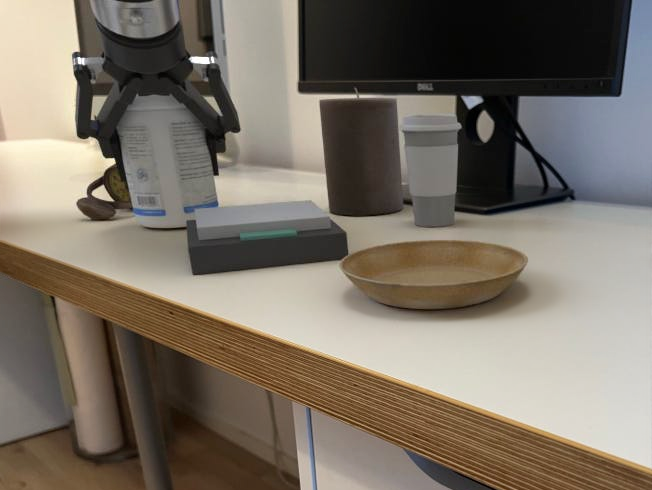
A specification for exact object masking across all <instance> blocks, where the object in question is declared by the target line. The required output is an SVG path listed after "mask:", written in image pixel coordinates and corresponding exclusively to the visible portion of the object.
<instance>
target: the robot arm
mask: <svg viewBox="0 0 652 490" xmlns="http://www.w3.org/2000/svg"><path fill="white" fill-rule="evenodd" d="M89 2H90V7H91V10H92V14H93V15H94V21H95V26H96V28H97V32H98V35H99V39H100V43H101V46H102V52H101V54H100V56H95V57H94V56H93V57H86V55H85V53H83V52H81V51H74V52H72V54H71V59H72V71H73V76H74V79H75V81H76V95H75V110H74V111H75V112H74V120H75V133H76V137H77V138H78V139H80V140H87V139H89V138H92V139H95V140H97V142H98V145H99V149H100V152H101V154H102V157H103V158H104V159H106V160H107V159H114V162H115V163H116V166H117V169H118V172H119V175H120V179H121V181H127V178H126V173H125V168H124V164H123V159H122V154H121V150H120V145H119V140H118V136H117V131H116V126H117V125H118V123H119V121H120V119H121V117H122V116H123V114H124V112H125V110H126V108H127V107H128V105H131V104H132V102H133V100H134V99H135V97H136V95H137V94H138V96H150V95H160V96H170V94H171V95H172V96H173V97H174V98H175V99H176V100H177V101H178V102H179V103H180V104H181V103H183V104H184V105H185V106H186V107H187V108H188V109H189V110H190V111H191V112H192V113H193V114H194V115H195V116H196V117H197V118H198V119H199V120H200V122H201V123H202V124H203V125H204V126H205V127H206V133H207V139H208V145H209V151H210V157H211V162H212V169H213V175H214V177H219V176H220V170H219V163H218V154H225V153H226V151H227V145H226V141H227V138H226V134H227V133H229V132H231V133H232V134H238V133H240V132H241V131H242V129H241V123H240V119H239V113H238V111H237V109H236V107H235V104H234V101H233V100H232V97H231V95H230V93H229V91H228V89H227V87H226V85H225V82H224V80H223V78H222V72H221V66H220V61H219V56H218V54H217V52H215V51H212V50H211V51H207V52H206V53H205V56H192V55H191V53H190V52H189V51H188V50H187V48H186V41H185V35H184V28H183V26H184V25H183V20H182V16H181V6H180V0H89ZM193 71H195V72H197V73H198V74H199V77H200V78H201V79H203V81H204V82H206V83H208V87H209V90H210V92H211V94H212V97H213V98H214V100H215V102H216V105H217V107H218V109H219V111H220V113H221V115H220V113H219V112H218V111H217V110H216V109H215V108H214V107H213V106H212V105H211V103H210V102H209V101H208V100H207V99H206V98H205V97H204V96H203V95H202V94H201V93H200V92H199V90H198V89H197V88H196V87H195V86H194V84H192V83H191V81H190V80H189V77H190V76H191V74H192V73H193ZM103 72H104V73H105V74H106V75H107V76H109V77H110V78H111V79H113V80H114V83H113V85H112V87H111V89H110V90H109V93H108V94H107V96H106V98H105V100H104V102H103V104H102V106H101V108H100V110H99V112H98V113H97V115H96V114H94V115H93V117H94V118H93V119H92V111H93V102H94V101H93V100H94V85H95V84H96V83H97V81H98V80H99V78H100V74H101V73H103Z"/></svg>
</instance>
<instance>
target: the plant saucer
mask: <svg viewBox="0 0 652 490" xmlns="http://www.w3.org/2000/svg"><path fill="white" fill-rule="evenodd" d="M348 254H349V255H347V256H346V257H344V258H343V259H340V261H339V262H338V263H339V265H338V266H339V269H340V271H342V272H343V274H344V275H345V277H346V278H347V279H348V280H349V281H350V282H351V283H352V284H353V285H355V287H357V288H358V290H360V291H361V292H362V293H364V294H365V295H366V296H367V297H369V298H370V299H372V300H374V301H376V302H378V303H381V304H384V305H388V306H393V307H395V308H401V309H402V308H403V309H410V310H411V309H412V310H446V309H447V310H449V309H455V308H463V307H469V306H474V305H478V304H481V302H482V303H485V302H488V301H489V300H492V299H494V298H496V297H497V296H499V295H500V294H502V293H503V292H504V291H505V290H506V289H507V288H508V287H509V286H511V284H513V283H514V281H515V280H517V278H518V277H519V276H520V275H521V274H522V272H523V271H524V269H525V268H526V266H527V265H528V263H529V258H528V256H527V255H526V254H525V253H524V252H523V251H521V250H518V249H515V248H513V247H510V246H505V245H501V244H498V243H490V242H482V241H476V240H459V239H430V240H427V239H426V240H425V239H424V240H410V241H399V242H392V243H385V244H381V245H379V244H378V245H375V246H370V247H366V248H362V249H359V250H356V251H354V252H352V253H348ZM484 301H485V302H484ZM473 304H474V305H473ZM468 305H469V306H468Z"/></svg>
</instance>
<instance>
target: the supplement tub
mask: <svg viewBox="0 0 652 490" xmlns="http://www.w3.org/2000/svg"><path fill="white" fill-rule="evenodd" d="M116 131H117V136H118V140H119V145H120V150H121V154H122V159H123V164H124V168H125V173H126V178H127V182H128V187H129V192H130V196H131V201H132V206H133V210H132V211H133V214H134V218H135V221H136V223H138V225H140V226H142V227H145V228H153V229H175V228H176V229H178V228H187V226H186V221H187V220H196V217H195V210H194V209H200V208H213V207H220V205H219V199H218V193H217V187H216V182H215V176H214V175H213V169H212V162H211V157H210V151H209V145H208V139H207V133H206V127H205V126H204V125H203V124H202V123H201V122H200V120H199V119H198V118H197V117H196V116H195V115H194V114H193V113H192V112H191V111H190V110H189V109H188V108H187V107H186V106H185V105H184V104H183V103H181V104H180V103H179V102H178V101H177V100H176V99H175V98H174V97H173V96H172V95H171V94H170V96H160V95H150V96H138V94H137V95H136V97H135V99H134V100H133V102H132V104H131V105H128V107H127V108H126V110H125V112H124V114H123V116H122V117H121V119H120V121H119V123H118V125H117V126H116Z"/></svg>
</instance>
